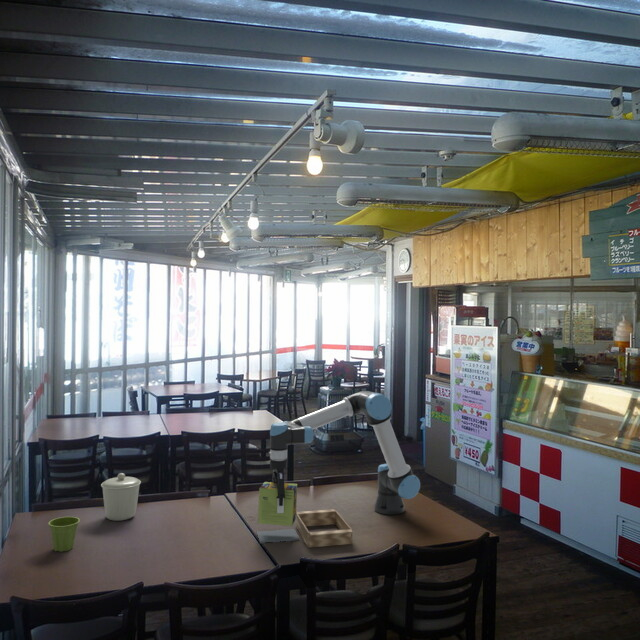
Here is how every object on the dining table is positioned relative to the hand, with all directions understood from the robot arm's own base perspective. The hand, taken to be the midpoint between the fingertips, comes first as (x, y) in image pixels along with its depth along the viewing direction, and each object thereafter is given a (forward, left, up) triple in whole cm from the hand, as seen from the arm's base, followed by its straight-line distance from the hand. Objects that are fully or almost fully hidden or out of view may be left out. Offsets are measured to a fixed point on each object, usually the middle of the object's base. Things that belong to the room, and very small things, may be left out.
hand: (277, 508), depth 252 cm
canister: (+69, -41, -13) cm, 81 cm away
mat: (0, 0, -12) cm, 12 cm away
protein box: (0, 0, -6) cm, 6 cm away
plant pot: (+88, -6, -13) cm, 89 cm away
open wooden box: (-20, +2, -12) cm, 24 cm away
